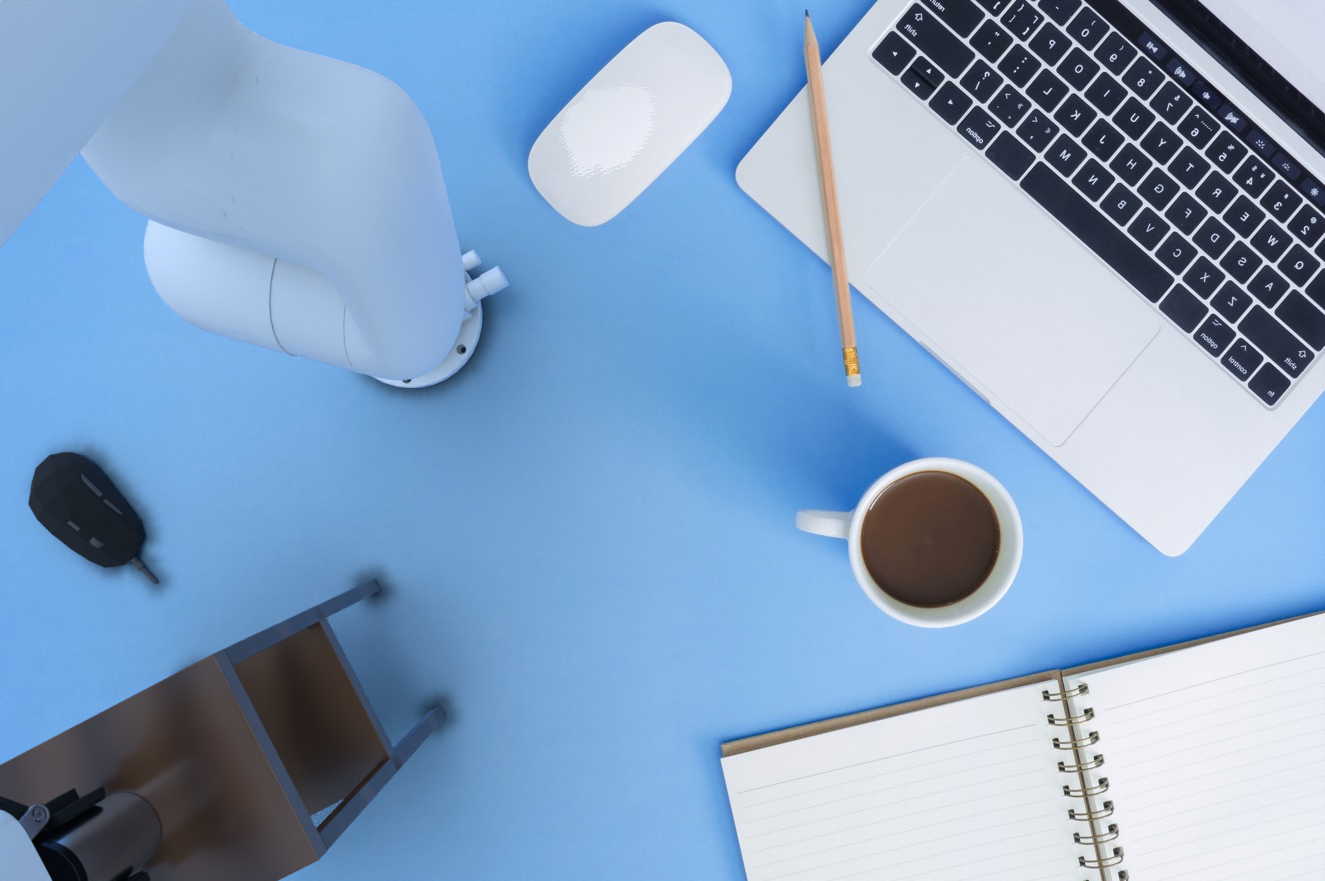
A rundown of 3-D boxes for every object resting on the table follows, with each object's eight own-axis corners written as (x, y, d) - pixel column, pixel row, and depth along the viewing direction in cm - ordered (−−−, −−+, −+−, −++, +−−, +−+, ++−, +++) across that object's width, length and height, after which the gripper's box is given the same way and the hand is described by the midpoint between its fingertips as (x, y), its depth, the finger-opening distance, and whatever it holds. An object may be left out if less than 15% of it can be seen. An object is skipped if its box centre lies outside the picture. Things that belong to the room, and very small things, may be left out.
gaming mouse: (132, 604, 80) (102, 614, 76) (26, 483, 80) (-10, 486, 76) (182, 559, 80) (154, 566, 76) (75, 437, 80) (42, 438, 76)
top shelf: (223, 648, 54) (193, 662, 51) (328, 850, 54) (304, 877, 51) (-50, 791, 55) (-96, 813, 52) (52, 989, 55) (12, 1024, 52)
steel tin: (139, 776, 53) (54, 828, 46) (177, 849, 53) (97, 913, 46) (69, 812, 54) (-26, 870, 47) (107, 885, 54) (17, 954, 47)
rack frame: (375, 577, 79) (223, 648, 54) (446, 716, 79) (328, 850, 54) (184, 677, 80) (-50, 791, 55) (254, 814, 80) (52, 989, 55)
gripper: (-34, 1224, 33) (227, 943, 52) (-236, 826, 34) (95, 686, 52) (-199, 1306, 34) (117, 998, 52) (-398, 912, 34) (-13, 742, 52)
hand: (104, 844), depth 52 cm, fingers closed on steel tin, 4 cm apart
